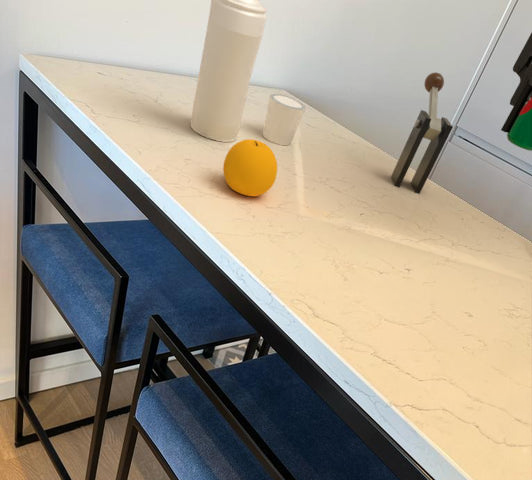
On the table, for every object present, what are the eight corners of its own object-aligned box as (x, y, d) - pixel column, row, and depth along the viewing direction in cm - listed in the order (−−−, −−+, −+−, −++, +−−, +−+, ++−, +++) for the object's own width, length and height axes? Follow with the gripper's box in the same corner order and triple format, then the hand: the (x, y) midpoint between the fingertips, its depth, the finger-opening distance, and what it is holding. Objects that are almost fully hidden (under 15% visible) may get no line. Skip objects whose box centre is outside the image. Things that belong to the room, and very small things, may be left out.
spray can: (252, 151, 99) (299, -12, 83) (196, 145, 93) (235, -31, 78) (225, 123, 106) (264, -33, 90) (172, 116, 100) (203, -51, 85)
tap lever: (421, 80, 105) (430, 65, 102) (438, 86, 105) (447, 71, 102) (417, 138, 99) (427, 124, 96) (435, 144, 100) (445, 130, 97)
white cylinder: (270, 145, 104) (282, 106, 99) (252, 129, 108) (263, 91, 103) (300, 148, 107) (313, 111, 103) (282, 132, 111) (293, 95, 107)
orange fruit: (277, 206, 85) (293, 158, 80) (227, 200, 81) (241, 150, 77) (259, 180, 90) (273, 134, 85) (212, 174, 86) (224, 125, 82)
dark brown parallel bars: (378, 175, 109) (410, 102, 101) (416, 187, 110) (451, 116, 102) (385, 197, 101) (421, 120, 93) (426, 209, 103) (465, 134, 94)
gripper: (553, -76, 70) (461, 113, 85) (698, -30, 62) (569, 170, 76) (575, -63, 75) (484, 113, 89) (712, -19, 67) (588, 167, 81)
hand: (523, 139), depth 83 cm, fingers closed on soda can, 5 cm apart
